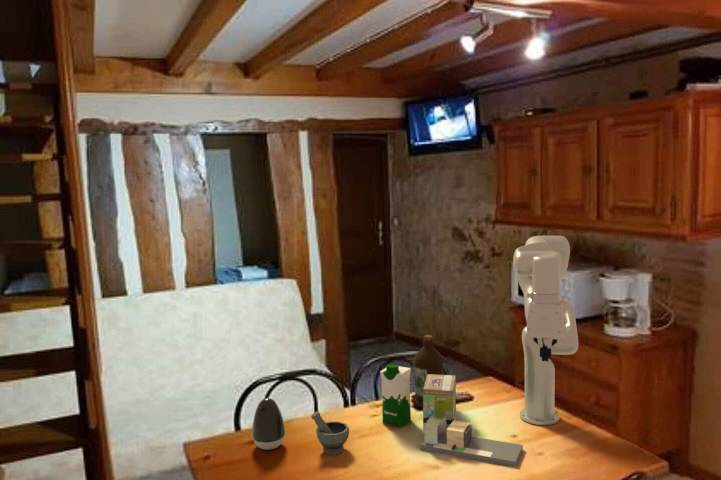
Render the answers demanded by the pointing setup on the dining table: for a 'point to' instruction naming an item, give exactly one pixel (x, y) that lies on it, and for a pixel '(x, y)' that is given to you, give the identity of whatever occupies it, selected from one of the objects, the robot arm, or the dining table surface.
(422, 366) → the olive oil
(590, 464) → the dining table surface
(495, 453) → the base
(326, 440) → the mortar and pestle
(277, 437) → the aroma diffuser
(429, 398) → the tea box
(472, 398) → the dining table surface
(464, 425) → the block
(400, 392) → the milk carton
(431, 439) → the light grey block
